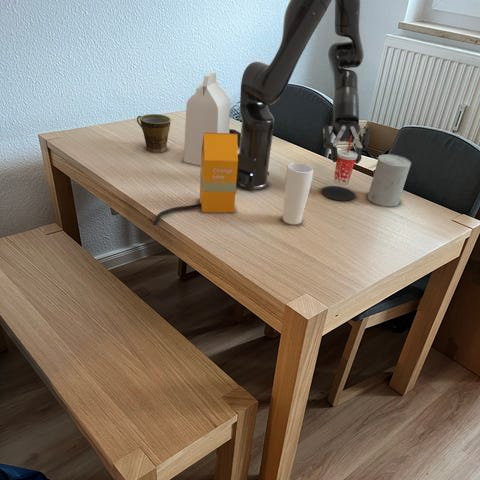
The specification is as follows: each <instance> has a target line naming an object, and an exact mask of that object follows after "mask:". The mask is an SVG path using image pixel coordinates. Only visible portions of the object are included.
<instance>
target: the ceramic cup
mask: <svg viewBox="0 0 480 480" xmlns="http://www.w3.org/2000/svg"><path fill="white" fill-rule="evenodd" d="M171 120H172V119H171V118H170V117H169V116H167V115H164V114H160V113H159V114H158V113H149V114H143V115H138V116H137V117H136V122H137V124H138V125H139V127H140V128H141V130H142V134H143V137H144V142H145V148H146V151H149V152H151V153H163V152H165V151H167V145H168V139H169V134H170V128H171Z"/></svg>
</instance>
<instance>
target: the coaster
mask: <svg viewBox="0 0 480 480" xmlns="http://www.w3.org/2000/svg"><path fill="white" fill-rule="evenodd" d="M321 194H322V195H323V196H324V197H325V198H327V199H329V200H332V201H336V202H349V201H353V199H354V198H355V194H354V192H353V191H352V190H350V189H348V188H345V187H343V186H338V185H330V186H325V187H322V189H321Z"/></svg>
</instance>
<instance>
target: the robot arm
mask: <svg viewBox="0 0 480 480" xmlns="http://www.w3.org/2000/svg"><path fill="white" fill-rule="evenodd" d="M331 2H332V0H289V2H288V4H287V6H286V9H285V12H284V16H283V25H282V37H281V42H280V45H279V48H278V49H277V51H276V53H275V55H274V58H273V59H272V61H271V62H270V64H267V63H264V62H261V61H252V62H250V63H249V64H248V65H247V66H246V67H245V69H244V71H243V72H242V73H243V74H242V76H241V81H240V82H241V83H240V97H239V114H240V117H241V125H240V128H241V129H240V133H241V137H240V147H239V149H238V168H237V179H236V186H237V187H241V188H243V189H245V190H248V191H253V190H262V189H264V188H266V187H267V185H268V177H269V175H270V172H269V166H270V158H271V150H272V143H273V136H274V135H273V134H274V128H275V118H274V116H273V114H272V113H271V112H270V109H269V107H268V106H272V105H274V104H276V103H278V101H279V100H280V99H281V97H282V96H283V94H284V93H285V91H286V89H287V87H288V85H289V83H290V81H291V78H292V76H293V73H294V71H295V69H296V66H297V65H298V63H299V61H300V59H301V57H302V54H303V53H304V51H305V49H306V47H307V45H308V43H309V42H310V40H311V38H312V36H313V34H314V33H315V31H316V29H317V28H318V26H319V24H320V23H321V20H323V17H324V15H325V13H326V12H327V10H328V8H329V7H330V4H331ZM333 10H334V17H333V18H334V20H333V30H334V33H335V34H336V35H337V36H339V37H343V38H348V39H350V40H349V41H341V42H340V41H339V42H334V43H332V44H331V45H330V46H329V48H328V49H327V53H326V54H327V57H326V58H327V62H328V65H329V68H330V71H331V75H332V80H333V99H332V125H330V126H329V125H328V124H325V125H324V127H323V128H322V130H321V131H322V140H323V146H324V149H329V150H330V160H331V161H332V163H336V161H337V151H338V147H337V146H338V144H339V142H346V143H349V141H350V136H352V139H351V143H350V146H352V147H353V148H354V152H356V153H357V154H358V156H357V159H356V160H355V163H354V165H357V164H359V163H360V162H361V160H362V157H363V156H362V151H365V150H366V149H367V148H368V146H369V141H370V131H371V129H370V127H366V128H362V127H361V126H360V97H359V80H358V79H359V77H358V73H356V71H355V70H352V69H354V68H359V67H360V66H361V65H362V63H363V61H364V57H365V53H364V47H363V43H362V38H361V31H360V17H361V16H360V15H361V0H334V9H333ZM331 132H332V134H333V135H334V136H335V138H334V140H333V142H332V141H331V135H330V134H331ZM359 134H360V137H361V138H362V139H361V141H360V137H359ZM196 208H201V203H200V202H199V203H195V204H189V205H183V206H182V205H181V206H176V207H171V208H168V209H164V210H163V211H160V212H159V213H158V214H157V215H156V217H155V218H154V220H153V222H152V225H153V226H156V225H158V223H159V220H160V219H161V218H162V216H164V215H167V214H169V213H173V212H176V211H183V210H184V211H185V210H193V209H196Z"/></svg>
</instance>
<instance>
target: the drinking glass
mask: <svg viewBox="0 0 480 480" xmlns="http://www.w3.org/2000/svg"><path fill="white" fill-rule="evenodd" d="M313 178H314V167H313V166H312V165H310V164H308V163H305V162H291V163H289V164H288V165H287V169H286V174H285V180H284V195H283V211H282V216H281V217H282V221H283V222H284V223H285V224H288V225H293V226H294V225H299V224H301V223H302V221H303V216H304V212H305V209H306V205H307V201H308V198H309V194H310V190H311V187H312V182H313Z"/></svg>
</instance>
